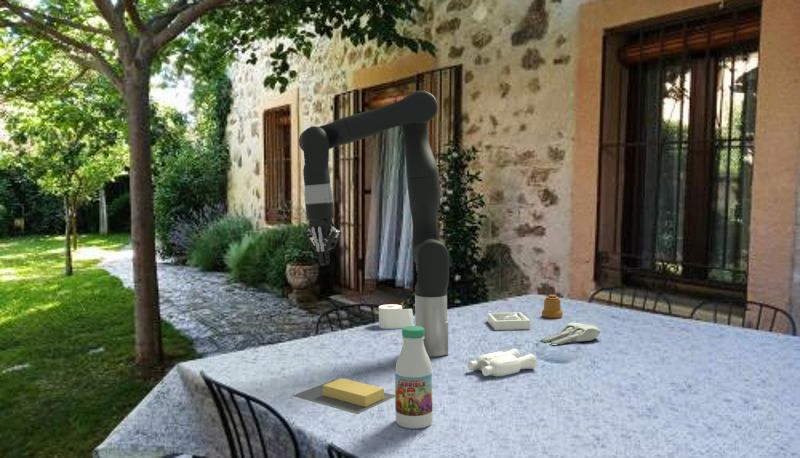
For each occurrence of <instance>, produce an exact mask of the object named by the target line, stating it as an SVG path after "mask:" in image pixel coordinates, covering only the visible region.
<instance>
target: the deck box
mask: <svg viewBox="0 0 800 458" xmlns="http://www.w3.org/2000/svg"><path fill="white" fill-rule="evenodd" d="M334 380H335V379H334ZM329 382H330V381H329ZM384 393H385V389H384V388H383V387H380V386H376V385H371V384H368V383H364V382H359V381H355V380H351V379H347V378H343V377H342V378H341V377H340V378H338V379H336V380H335V381H333V382H330V383H328V384H325V385H323V396H327V397H331V398H334V399H338V400H342V401H345V402H349V403H353V404H356V405H360V406H364V407H367V406H369V405H371V404H373V403H376V402H378V401H380V400H382V399H384Z"/></svg>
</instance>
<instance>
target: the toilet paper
mask: <svg viewBox="0 0 800 458" xmlns="http://www.w3.org/2000/svg"><path fill="white" fill-rule="evenodd" d="M407 326H414V316H413V308H403V305H401V304H396V303H395V304H393V303H391V304H382V305H379V306H378V327H379V328H380V329H385V330H391V329H392V330H395V329H403V328H404V327H407Z"/></svg>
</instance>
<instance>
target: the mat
mask: <svg viewBox="0 0 800 458" xmlns="http://www.w3.org/2000/svg"><path fill="white" fill-rule="evenodd" d="M333 381H335V379H333V380H330V381H328V382H325V383H321V384H320V385H318V386H315V387H312V388H309V389H307V390H304V391H302V392H299V393H296V394H293V395H292V396H293V397H296V398H300V399H302V400H307V401H308V402H309V401H310V402H313V403H317V404H320V405H325V406H327V407H331V408H334V409H339V410H342V411H345V412H348V413H353V414H356V415H358V414H362V413H363V412H366V411H367V410H369V409H372V408H374V407H376V406H378V405H380V404H383V403H384V402H387V401H389V400H391V399H393V398H395V394H392V393H387V392H384V399H382V400H380V401H378V402H376V403H373V404H371V405H369V406H367V407H364V406H360V405H356V404H353V403H349V402H345V401H342V400H338V399H334V398H331V397H327V396H323V385H325V384H328V383H330V382H333Z"/></svg>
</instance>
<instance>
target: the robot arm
mask: <svg viewBox="0 0 800 458" xmlns="http://www.w3.org/2000/svg"><path fill="white" fill-rule="evenodd" d="M437 113H438V101H437V98H436V97H435V96H434V95H433V94H432V93H430V92H428V91H426V90H415V91H413V92H411V93H408V94H407V95H405V96H403V98H402V99H400V100H398V101H395V102H393V103H390V104H388V105H385V106H382V107H377V108H374V109H370V110H366V111H363V112H359V113H354V114H351V115H348V116H345V117H342V118H338V119H336V120H334V121H332V122H330V123H326V124H324V125H320V126H310V127H308V128H306V129H305V130H303V132H301V134H300V135H299V139H298V145H299V148H300V149H301V150H302V151H303V159H304V165H303V168H302V171H303V172H302V174H303V183H304V191H303V193H304V195H303V196H304V203H305V204H304V205H305V216H306V217H305V218H306V220H307V221H308V222H309V223H308V229H307V230H306V231H303V236H304V238H305V239H306V241H307V242H308V244H309V245H310V246H309V247H311V248H312V250H316V252H317V253H318V254H317V255H318V262H319V265H320V266H328V265H330V263H331V259H330V251H331V250H332V249H335V247H336V245H337V243H338V241H339V239H340V236H341V234H342V230H341V229H337V228H336V227H335V223H334V221H333V219H334V218H335V210H334V209H335V208H334V198H333V190H332V187H331V185H332V184H331V176H330V175H331V174H330V168H329V162H330V161H329V159H330V157H329V156H330V150H331V149H333V148H336V147H338V146H342V145H347V144H350V143H354V142H358V141H361V140H364V139H366V138H369V137H371V136H374V135H376V134H380V133H383V132H385V131H388V130H390V129H393V128H397V127H400V126H401V129H402V134H403V140H404V151H405V152H404V155H405V167H406V183H407V194H408V201H409V210H410V214H411V221H412V222H411V223H412V259H413V261H414V263H415V264H416V266H417V279H416V280H417V281H416V283H415V287H414V301H415V302H414V305H415V307H414V309H415V310H414V312H415V313H414V314H415V316H414V318H415V320H414V321H415V325H414V326H420V327H423V328H424V339H423V343H424V347H425V350H426V352H427V354H428V356H429V358H430V357H432V358H433V357H434V358H435V357H441V356H446V355H447V356H448V355H449V321H448V287H449V282H450V254H449V251H448V248H447V246H446V245H445V244H444V243H443V242H441V241H440V236H439V229H438V213H439V204H440V199H441V185H440V176H439V173H440V172H439V168H438V164H437V161H436V158H435V157H434V153H433V151H432V147H431V145H430V139H429V125H428V124H429V122H430V121H431V120H432V119H433V118H435V116H436V115H437Z"/></svg>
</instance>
